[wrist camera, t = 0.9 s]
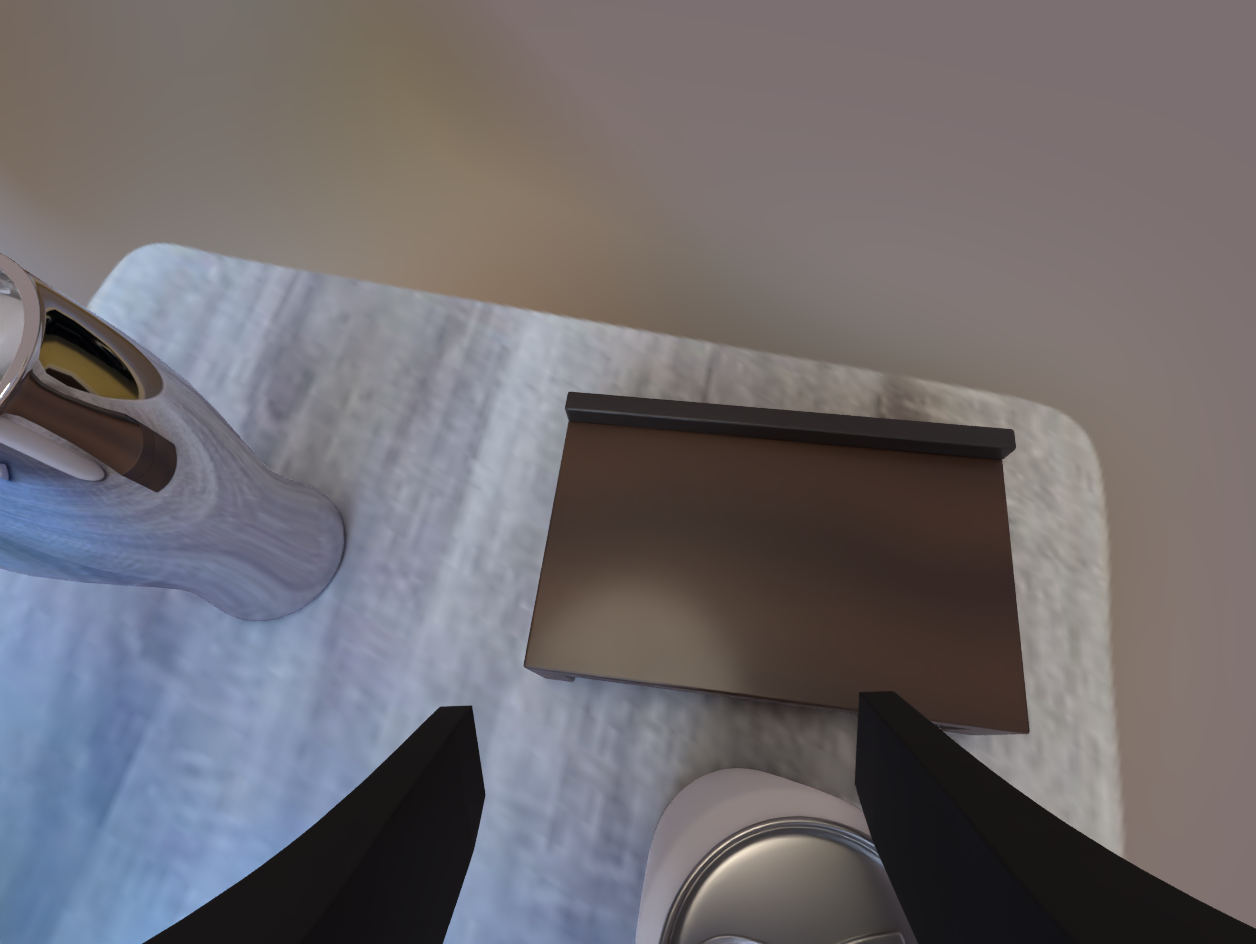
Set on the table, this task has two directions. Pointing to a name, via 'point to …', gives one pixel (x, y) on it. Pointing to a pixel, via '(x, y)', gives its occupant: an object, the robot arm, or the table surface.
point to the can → (765, 868)
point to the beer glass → (140, 471)
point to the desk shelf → (783, 559)
